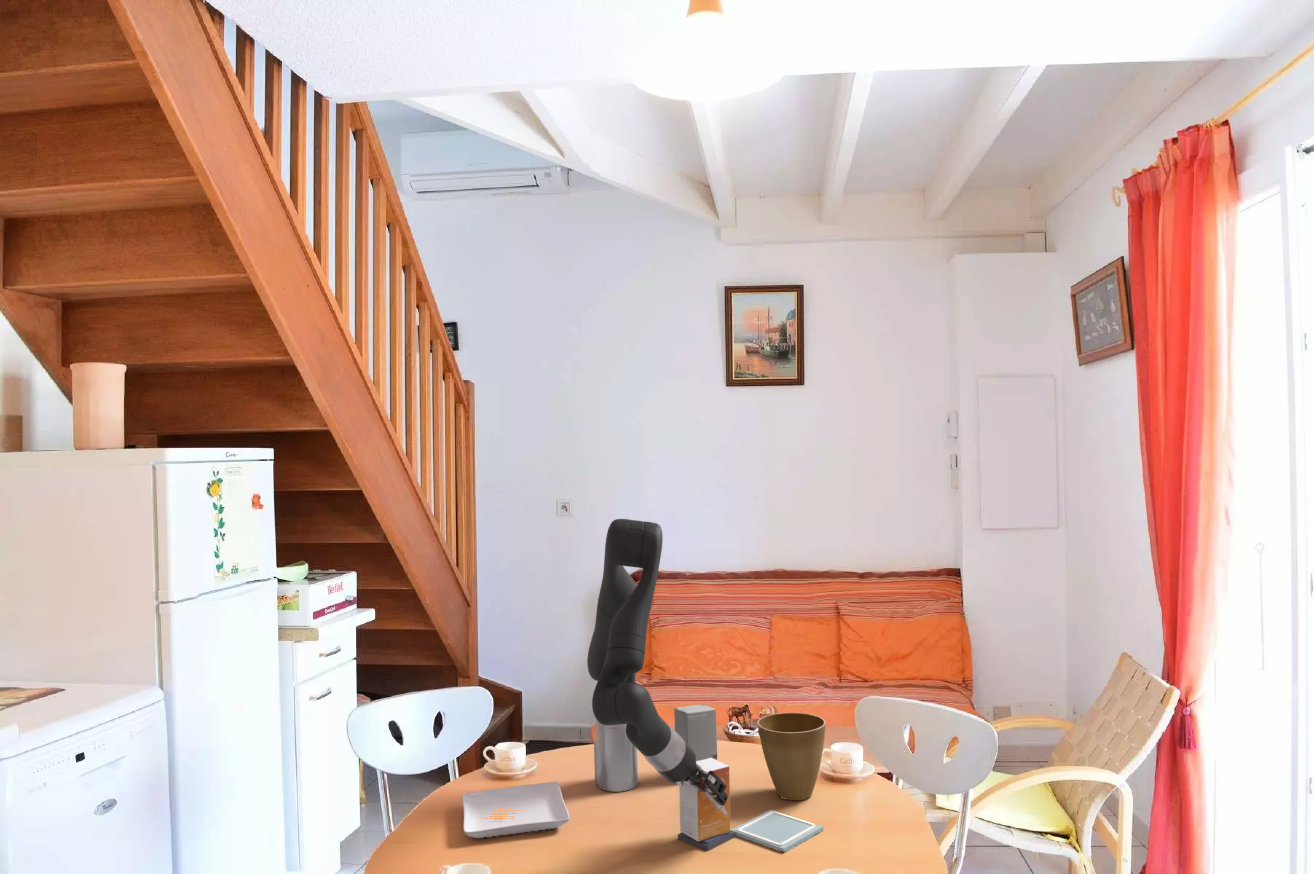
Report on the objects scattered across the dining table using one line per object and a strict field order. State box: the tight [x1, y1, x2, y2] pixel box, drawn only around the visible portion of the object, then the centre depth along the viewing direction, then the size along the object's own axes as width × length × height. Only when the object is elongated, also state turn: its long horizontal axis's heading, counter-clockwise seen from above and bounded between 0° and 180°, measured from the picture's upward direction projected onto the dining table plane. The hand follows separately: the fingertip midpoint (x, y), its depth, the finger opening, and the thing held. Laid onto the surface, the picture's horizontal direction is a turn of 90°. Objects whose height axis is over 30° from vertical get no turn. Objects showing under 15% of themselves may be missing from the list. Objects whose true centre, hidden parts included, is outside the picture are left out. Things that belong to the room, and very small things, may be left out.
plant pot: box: [756, 712, 827, 801], centre depth 198 cm, size 15×15×16 cm
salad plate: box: [461, 781, 571, 839], centre depth 190 cm, size 21×21×3 cm
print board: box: [730, 809, 824, 853], centre depth 179 cm, size 13×13×1 cm
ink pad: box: [677, 830, 736, 851], centre depth 177 cm, size 8×8×1 cm
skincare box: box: [673, 703, 718, 761], centre depth 211 cm, size 8×7×16 cm
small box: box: [678, 758, 731, 842], centre depth 177 cm, size 8×6×13 cm
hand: (709, 796), depth 178 cm, fingers closed on small box, 7 cm apart
